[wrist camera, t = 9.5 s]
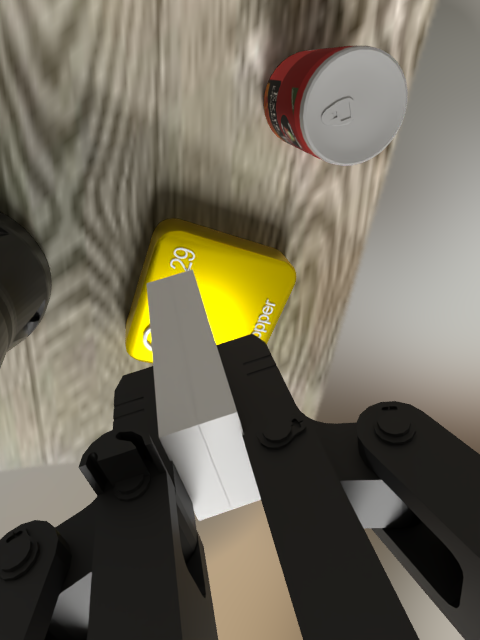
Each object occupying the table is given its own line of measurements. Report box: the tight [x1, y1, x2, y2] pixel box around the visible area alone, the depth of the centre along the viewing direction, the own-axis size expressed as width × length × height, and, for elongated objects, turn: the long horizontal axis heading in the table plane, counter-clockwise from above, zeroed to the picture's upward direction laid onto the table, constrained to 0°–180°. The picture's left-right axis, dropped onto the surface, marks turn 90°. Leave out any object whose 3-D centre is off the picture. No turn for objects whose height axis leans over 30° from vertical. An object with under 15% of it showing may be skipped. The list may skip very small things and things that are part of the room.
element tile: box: [125, 218, 296, 363], centre depth 46 cm, size 15×15×5 cm
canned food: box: [264, 46, 408, 166], centre depth 34 cm, size 8×8×11 cm
